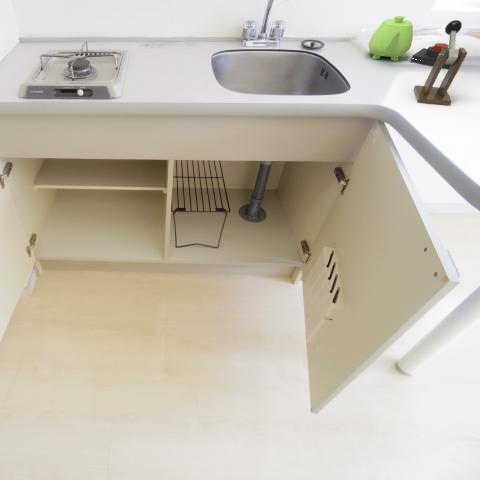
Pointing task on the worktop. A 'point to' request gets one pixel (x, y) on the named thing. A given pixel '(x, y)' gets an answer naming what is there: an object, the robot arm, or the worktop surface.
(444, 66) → the button box
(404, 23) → the teapot
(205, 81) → the worktop surface
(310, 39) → the worktop surface
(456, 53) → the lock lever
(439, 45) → the button
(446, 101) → the brown wooden stand
